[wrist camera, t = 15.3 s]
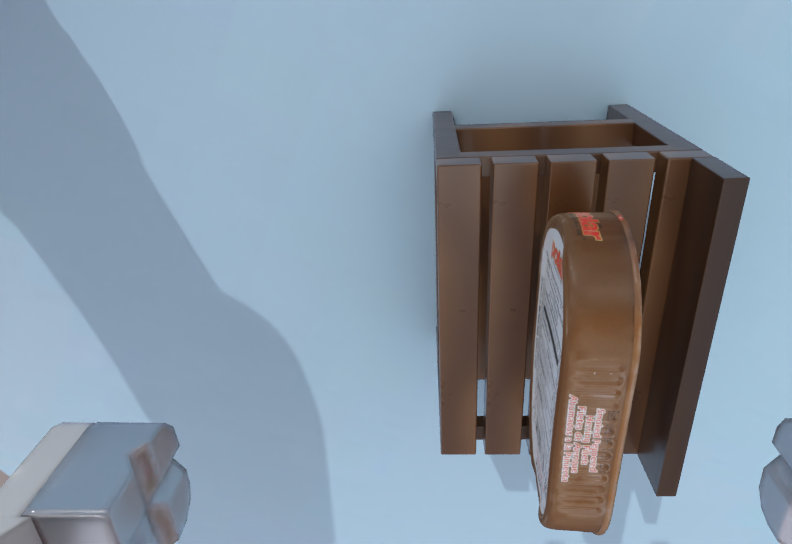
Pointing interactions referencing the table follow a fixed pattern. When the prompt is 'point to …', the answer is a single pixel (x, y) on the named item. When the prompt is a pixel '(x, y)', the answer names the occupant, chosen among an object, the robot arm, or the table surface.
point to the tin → (583, 366)
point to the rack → (520, 256)
